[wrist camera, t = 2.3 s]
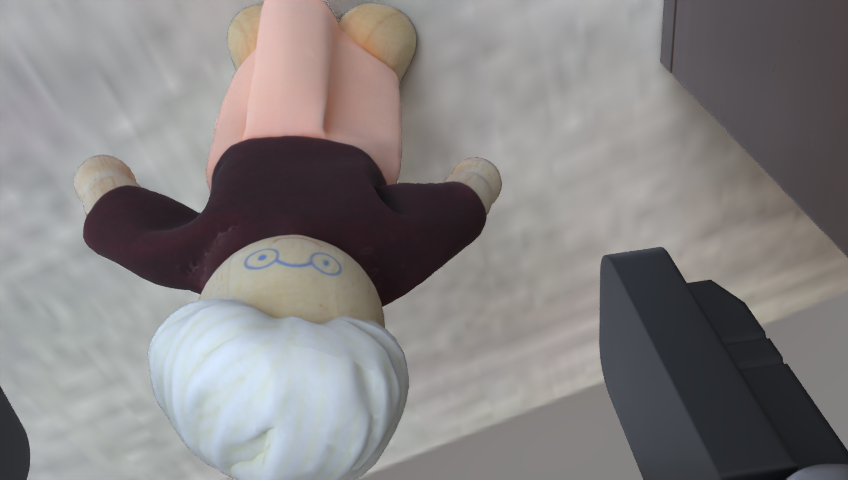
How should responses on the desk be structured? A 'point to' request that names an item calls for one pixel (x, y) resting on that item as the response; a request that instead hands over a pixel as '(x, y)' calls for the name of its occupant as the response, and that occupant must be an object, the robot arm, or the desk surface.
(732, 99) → the rack
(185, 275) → the grandmother figurine
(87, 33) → the desk surface
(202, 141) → the desk surface
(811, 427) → the robot arm
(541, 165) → the desk surface
